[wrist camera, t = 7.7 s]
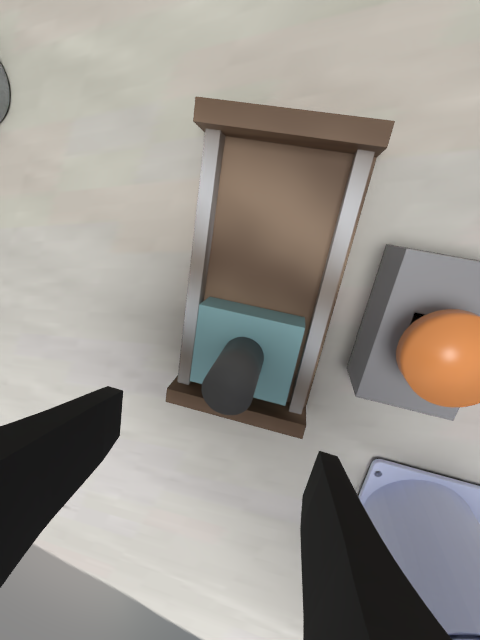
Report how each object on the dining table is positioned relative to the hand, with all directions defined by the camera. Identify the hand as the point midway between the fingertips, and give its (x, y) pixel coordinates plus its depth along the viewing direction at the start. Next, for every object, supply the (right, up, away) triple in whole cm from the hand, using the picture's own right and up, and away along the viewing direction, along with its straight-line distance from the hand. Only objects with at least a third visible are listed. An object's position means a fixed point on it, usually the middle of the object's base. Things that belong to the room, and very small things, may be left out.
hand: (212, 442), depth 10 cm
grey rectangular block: (+11, +4, +7) cm, 14 cm away
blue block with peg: (+2, +3, +9) cm, 9 cm away
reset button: (+11, +4, +6) cm, 13 cm away
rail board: (+2, +7, +8) cm, 11 cm away
